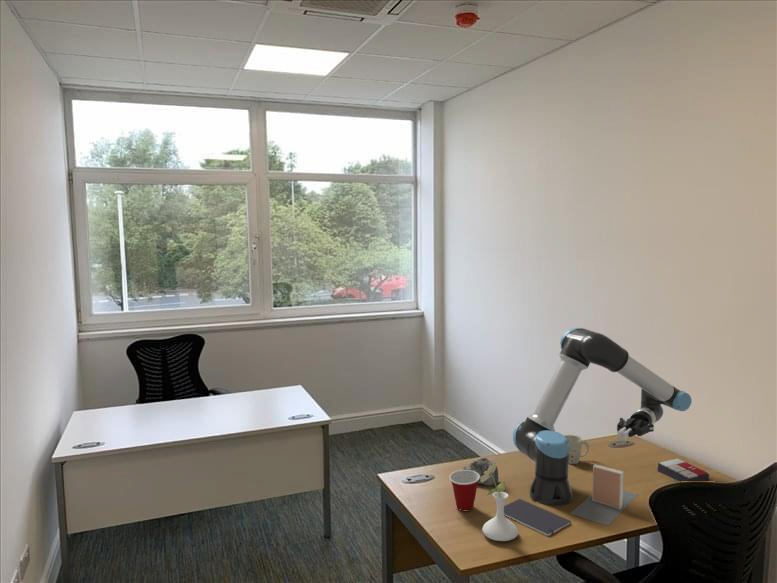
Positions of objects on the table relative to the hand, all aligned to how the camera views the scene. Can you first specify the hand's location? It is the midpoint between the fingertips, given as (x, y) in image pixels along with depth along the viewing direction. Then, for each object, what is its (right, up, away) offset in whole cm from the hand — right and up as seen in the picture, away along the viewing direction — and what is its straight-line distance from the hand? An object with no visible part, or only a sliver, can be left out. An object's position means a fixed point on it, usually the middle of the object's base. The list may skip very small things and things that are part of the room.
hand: (621, 436), depth 216 cm
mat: (-9, -23, -7) cm, 26 cm away
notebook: (-36, -25, -15) cm, 47 cm away
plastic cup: (-59, -24, -7) cm, 64 cm away
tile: (-8, -22, -7) cm, 25 cm away
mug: (-6, -19, +33) cm, 38 cm away
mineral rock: (-50, -21, +14) cm, 56 cm away
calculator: (+31, -20, +17) cm, 41 cm away
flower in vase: (-50, -26, -27) cm, 63 cm away
